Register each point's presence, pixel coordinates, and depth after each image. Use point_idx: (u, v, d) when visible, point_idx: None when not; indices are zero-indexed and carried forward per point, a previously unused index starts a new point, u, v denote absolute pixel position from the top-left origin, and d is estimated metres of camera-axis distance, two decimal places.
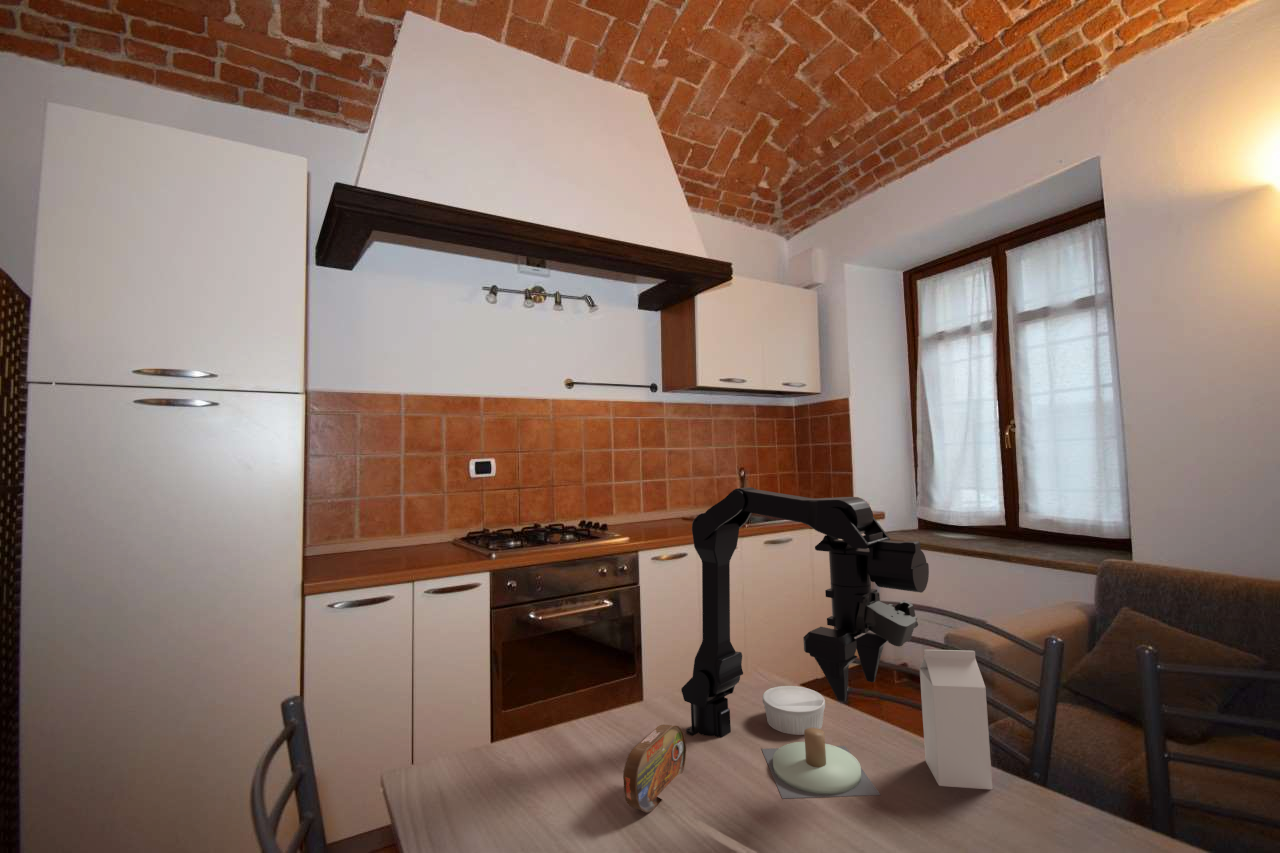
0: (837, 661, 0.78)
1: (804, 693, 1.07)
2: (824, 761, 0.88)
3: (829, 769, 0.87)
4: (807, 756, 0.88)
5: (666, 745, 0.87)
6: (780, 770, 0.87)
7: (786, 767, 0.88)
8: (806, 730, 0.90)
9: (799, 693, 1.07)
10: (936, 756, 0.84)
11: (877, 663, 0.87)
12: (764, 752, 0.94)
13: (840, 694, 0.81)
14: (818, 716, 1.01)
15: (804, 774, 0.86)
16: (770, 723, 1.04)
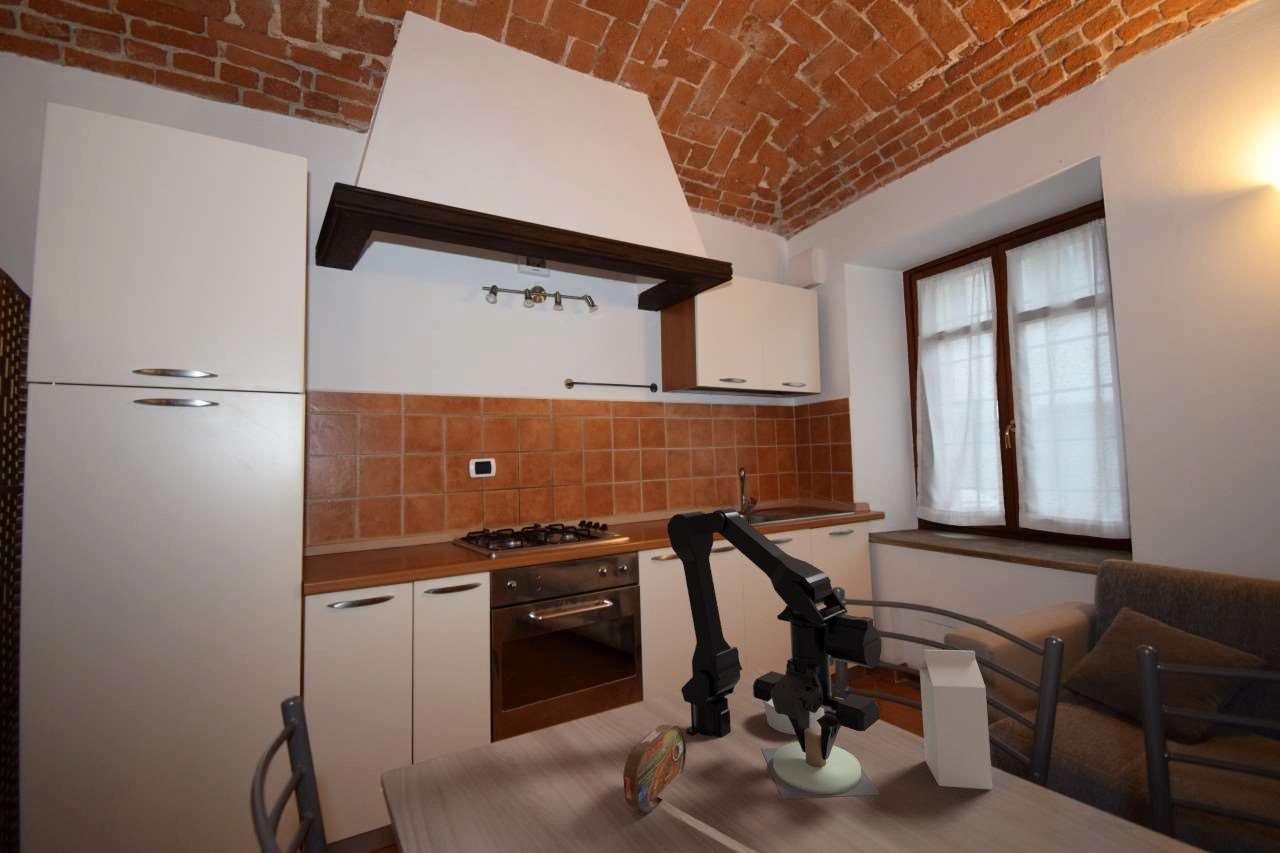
0: None
1: None
2: (824, 761, 0.88)
3: (830, 769, 0.87)
4: (807, 756, 0.88)
5: (666, 745, 0.87)
6: (780, 770, 0.87)
7: (786, 767, 0.88)
8: (806, 730, 0.90)
9: None
10: (936, 756, 0.84)
11: (823, 743, 0.87)
12: (764, 752, 0.94)
13: None
14: (818, 716, 1.01)
15: (804, 774, 0.86)
16: (770, 723, 1.04)
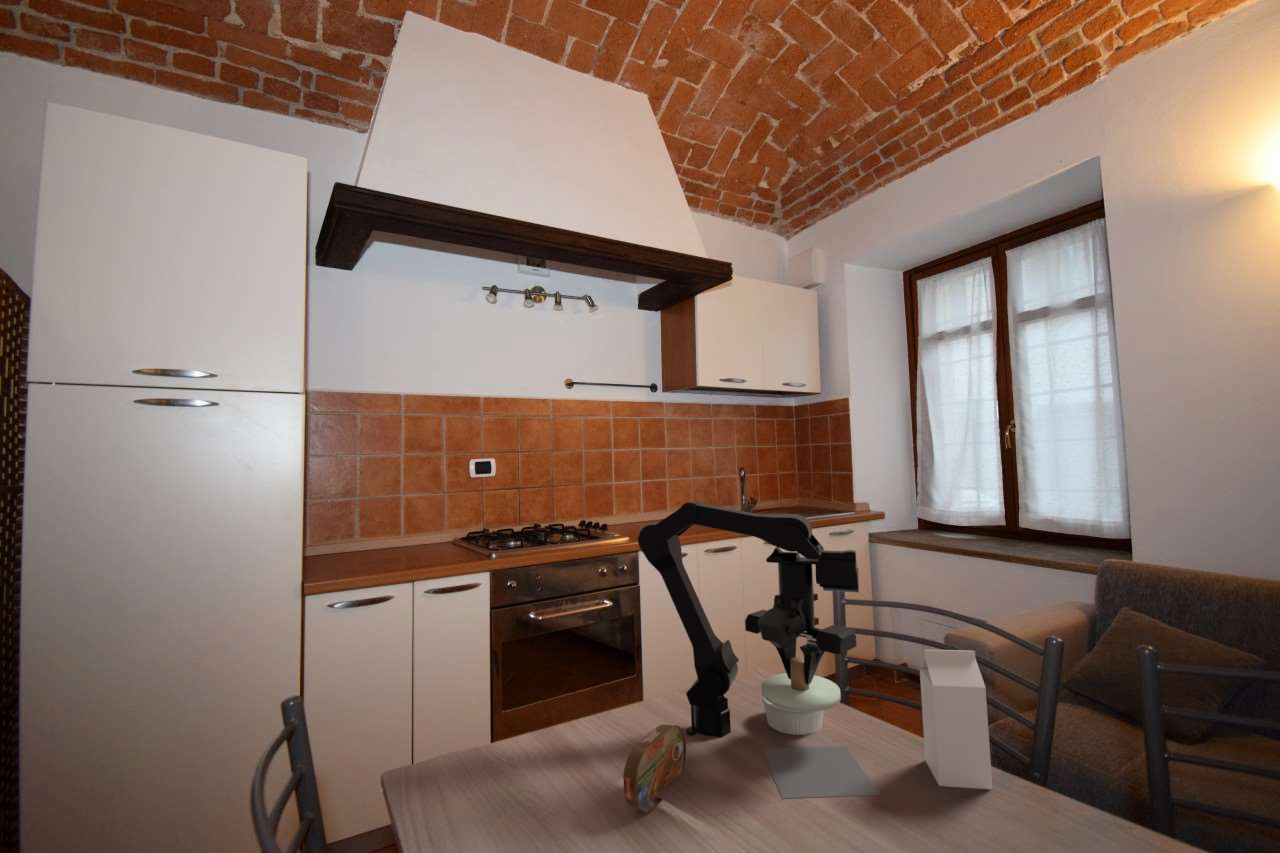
0: None
1: None
2: (807, 686, 0.97)
3: (812, 692, 0.96)
4: (792, 681, 0.98)
5: (666, 745, 0.87)
6: (767, 692, 0.96)
7: (772, 690, 0.97)
8: (792, 659, 0.99)
9: None
10: (936, 756, 0.84)
11: (806, 669, 0.96)
12: (764, 752, 0.94)
13: None
14: (818, 716, 1.01)
15: (787, 695, 0.95)
16: (770, 723, 1.04)
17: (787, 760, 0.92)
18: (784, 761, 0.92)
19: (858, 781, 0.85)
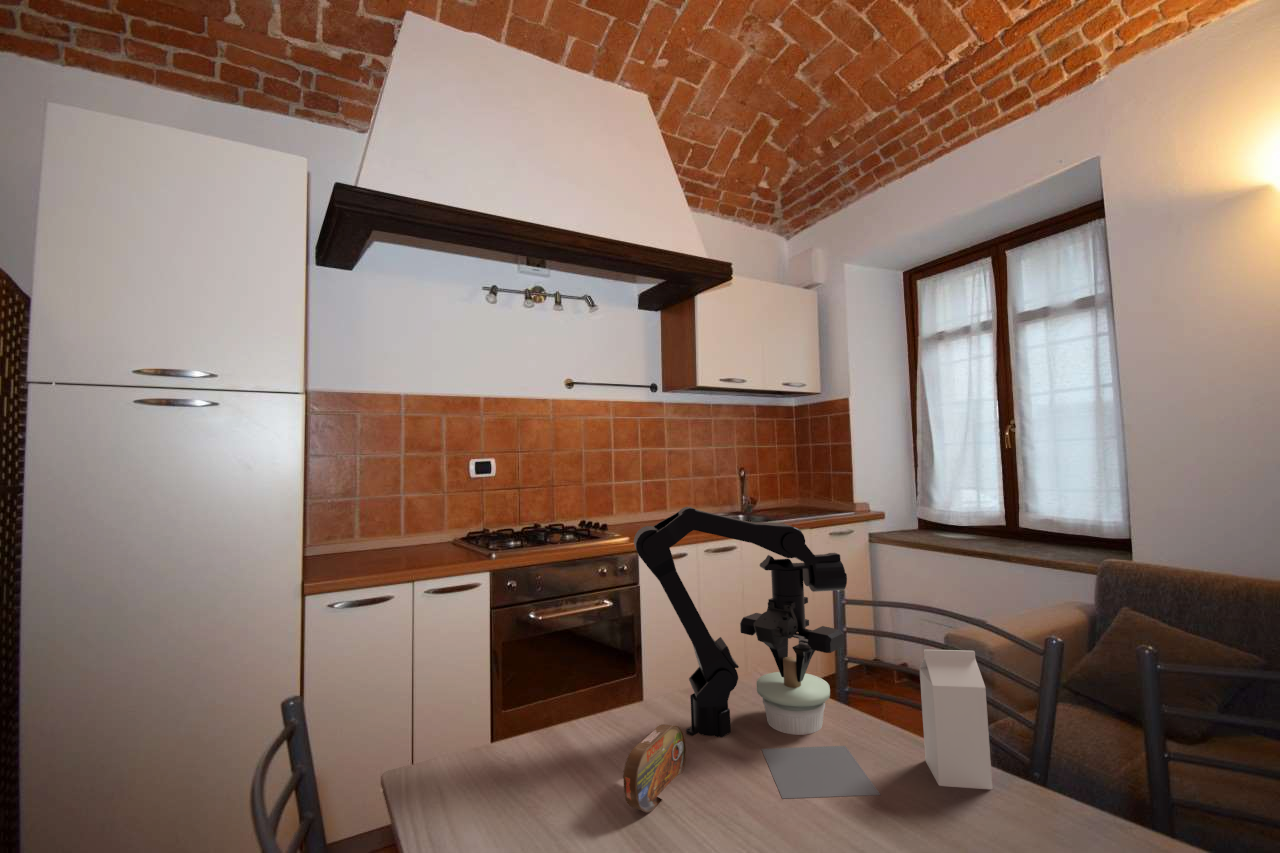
0: None
1: None
2: (799, 683, 1.04)
3: (803, 688, 1.03)
4: (785, 679, 1.05)
5: (666, 745, 0.87)
6: (762, 690, 1.03)
7: (767, 688, 1.04)
8: (784, 658, 1.06)
9: None
10: (936, 756, 0.84)
11: (798, 667, 1.03)
12: (764, 752, 0.94)
13: None
14: (818, 716, 1.01)
15: (781, 692, 1.02)
16: (770, 723, 1.04)
17: (787, 760, 0.92)
18: (784, 761, 0.92)
19: (858, 781, 0.85)
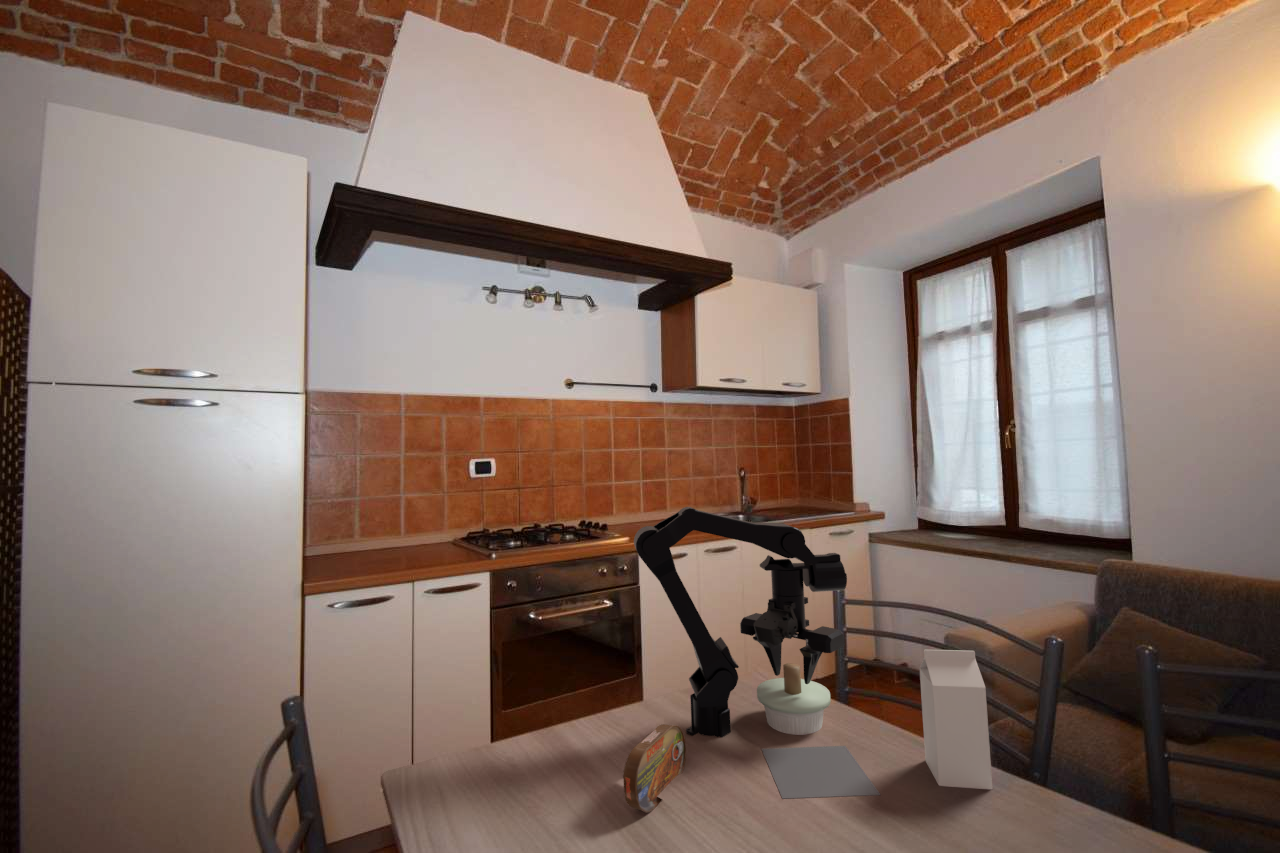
0: None
1: None
2: (799, 689, 1.04)
3: (804, 695, 1.03)
4: (785, 686, 1.05)
5: (666, 745, 0.87)
6: (762, 696, 1.03)
7: (767, 694, 1.04)
8: (785, 665, 1.06)
9: None
10: (936, 756, 0.84)
11: (805, 669, 1.02)
12: (764, 752, 0.94)
13: None
14: (818, 716, 1.01)
15: (782, 699, 1.02)
16: (770, 723, 1.04)
17: (787, 760, 0.92)
18: (784, 761, 0.92)
19: (858, 781, 0.85)
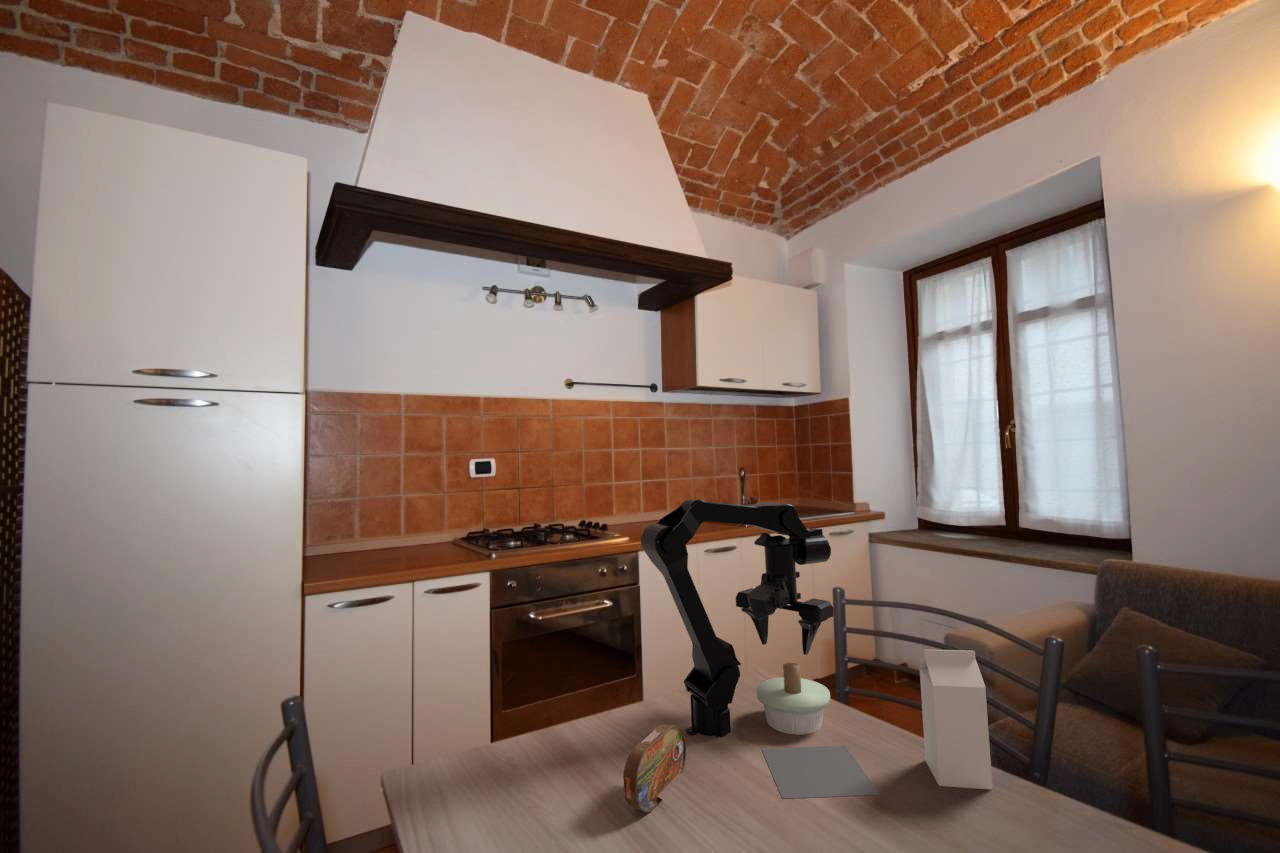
0: None
1: None
2: (799, 689, 1.04)
3: (804, 695, 1.03)
4: (785, 685, 1.05)
5: (666, 745, 0.87)
6: (762, 696, 1.03)
7: (767, 694, 1.04)
8: (785, 664, 1.06)
9: None
10: (936, 756, 0.84)
11: (803, 640, 1.07)
12: (764, 752, 0.94)
13: None
14: (817, 716, 1.01)
15: (781, 698, 1.02)
16: (769, 723, 1.04)
17: (787, 760, 0.92)
18: (784, 761, 0.92)
19: (858, 781, 0.85)
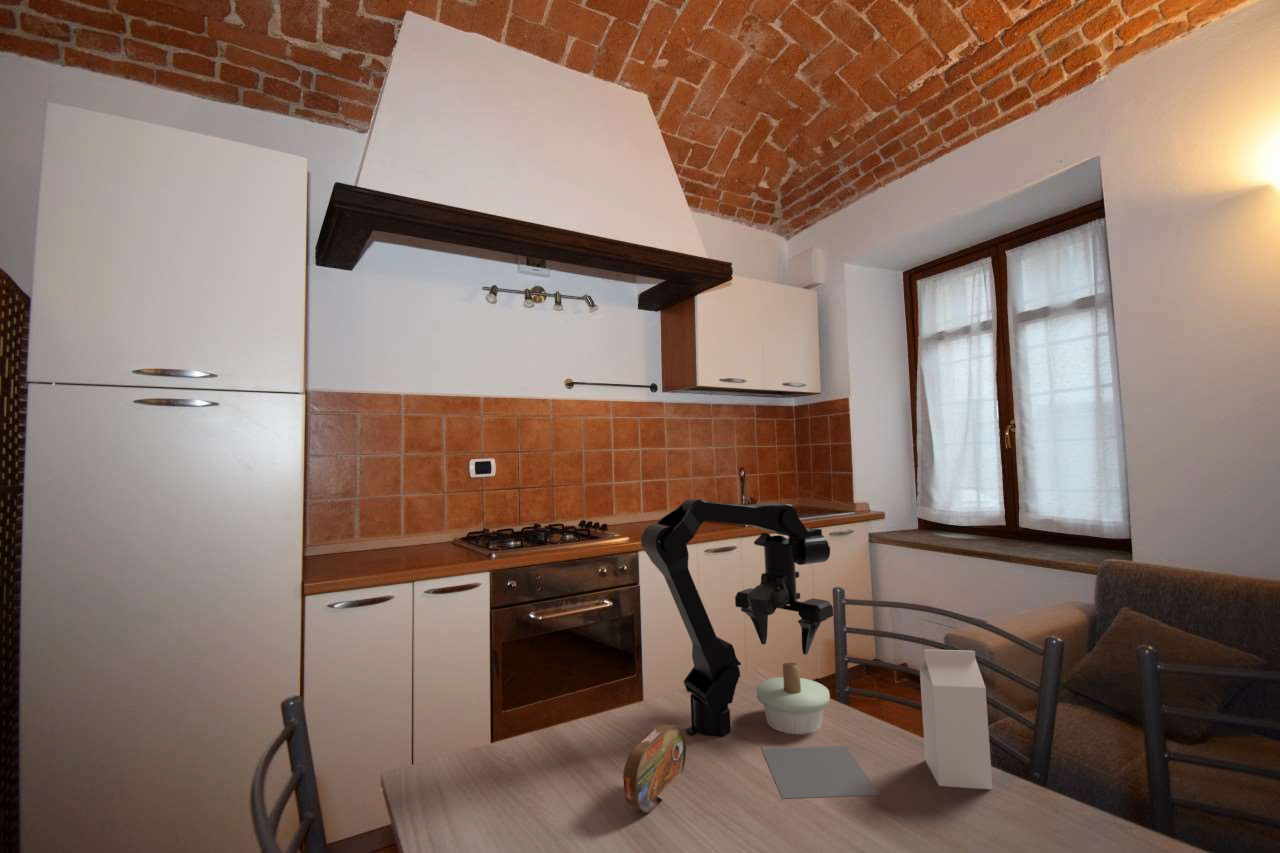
0: None
1: None
2: (799, 689, 1.04)
3: (803, 694, 1.03)
4: (785, 685, 1.05)
5: (666, 745, 0.87)
6: (762, 696, 1.04)
7: (767, 694, 1.04)
8: (784, 664, 1.06)
9: None
10: (936, 756, 0.84)
11: (803, 640, 1.07)
12: (764, 752, 0.94)
13: None
14: (817, 716, 1.01)
15: (781, 698, 1.02)
16: (769, 723, 1.04)
17: (787, 760, 0.92)
18: (784, 761, 0.92)
19: (858, 781, 0.85)
